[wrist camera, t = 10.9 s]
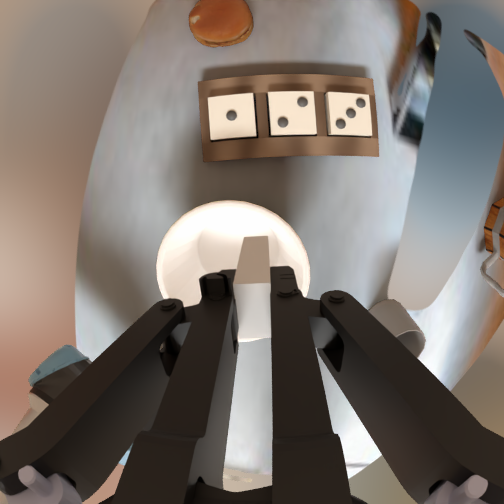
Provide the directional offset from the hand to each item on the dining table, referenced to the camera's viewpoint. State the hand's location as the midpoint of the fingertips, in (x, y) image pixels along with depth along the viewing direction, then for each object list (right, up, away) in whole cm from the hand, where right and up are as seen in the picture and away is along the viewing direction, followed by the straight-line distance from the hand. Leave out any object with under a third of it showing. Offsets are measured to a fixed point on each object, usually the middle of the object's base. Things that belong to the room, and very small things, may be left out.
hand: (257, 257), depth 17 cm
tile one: (-3, +19, +19) cm, 27 cm away
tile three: (+13, +20, +18) cm, 30 cm away
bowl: (-2, +1, +26) cm, 26 cm away
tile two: (+5, +20, +18) cm, 27 cm away
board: (+5, +20, +19) cm, 28 cm away
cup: (+24, -12, +30) cm, 40 cm away
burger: (-5, +35, +14) cm, 38 cm away
